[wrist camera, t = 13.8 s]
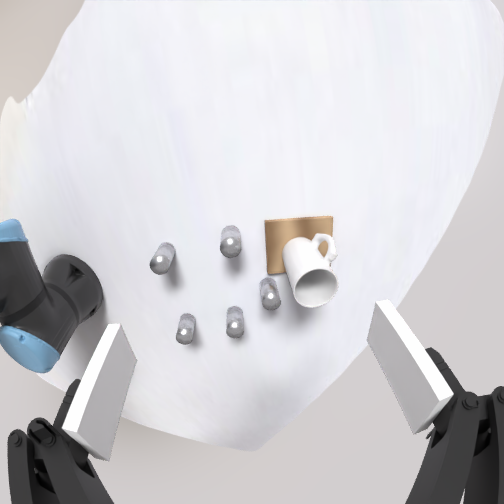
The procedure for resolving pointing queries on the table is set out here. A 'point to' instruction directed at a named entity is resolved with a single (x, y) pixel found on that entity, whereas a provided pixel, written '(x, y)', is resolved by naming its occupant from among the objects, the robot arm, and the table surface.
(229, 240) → the cylinder
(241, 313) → the cylinder
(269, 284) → the cylinder
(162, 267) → the cylinder
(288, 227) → the trivet
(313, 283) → the mug
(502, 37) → the table surface
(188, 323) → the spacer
